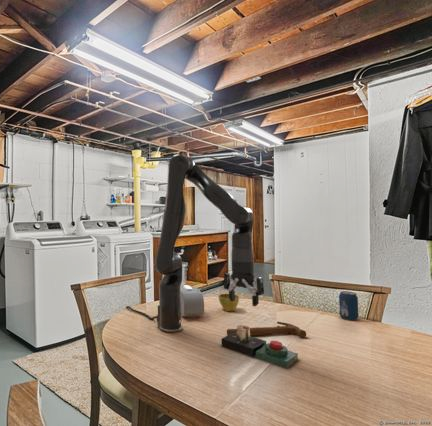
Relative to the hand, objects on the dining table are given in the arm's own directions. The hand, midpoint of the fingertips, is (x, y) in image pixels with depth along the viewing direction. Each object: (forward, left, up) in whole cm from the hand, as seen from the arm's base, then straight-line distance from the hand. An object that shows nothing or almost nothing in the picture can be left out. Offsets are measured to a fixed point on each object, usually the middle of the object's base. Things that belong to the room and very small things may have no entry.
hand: (243, 303), depth 113 cm
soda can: (+16, +65, -17) cm, 69 cm away
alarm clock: (-38, +17, -17) cm, 44 cm away
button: (+11, -1, -13) cm, 17 cm away
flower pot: (-28, +37, -17) cm, 49 cm away
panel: (0, -1, -16) cm, 16 cm away
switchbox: (+11, -1, -16) cm, 20 cm away
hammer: (-2, +17, -17) cm, 24 cm away
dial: (0, -1, -13) cm, 13 cm away
